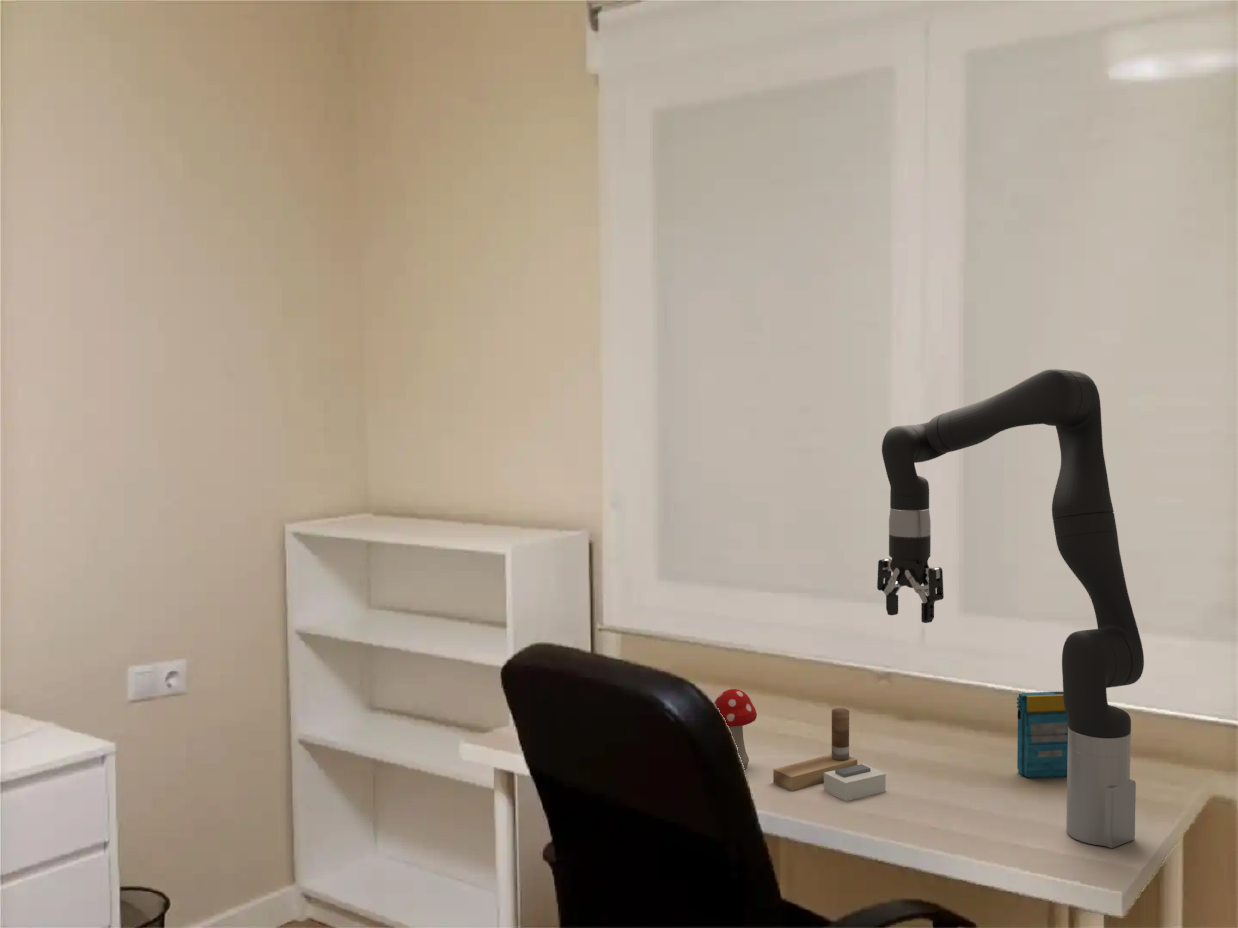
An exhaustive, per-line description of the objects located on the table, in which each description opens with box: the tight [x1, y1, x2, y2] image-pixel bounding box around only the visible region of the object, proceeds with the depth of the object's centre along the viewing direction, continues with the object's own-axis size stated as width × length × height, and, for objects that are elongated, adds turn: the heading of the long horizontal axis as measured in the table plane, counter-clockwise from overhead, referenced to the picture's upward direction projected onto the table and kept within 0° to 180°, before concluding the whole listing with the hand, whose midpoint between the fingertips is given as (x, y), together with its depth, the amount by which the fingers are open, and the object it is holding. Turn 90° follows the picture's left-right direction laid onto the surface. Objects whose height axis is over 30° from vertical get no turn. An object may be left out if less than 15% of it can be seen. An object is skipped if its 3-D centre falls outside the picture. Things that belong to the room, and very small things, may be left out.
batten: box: [772, 753, 858, 791], centre depth 210 cm, size 5×16×2 cm, turn 122°
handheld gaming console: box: [1016, 690, 1068, 779], centre depth 208 cm, size 10×4×15 cm, turn 94°
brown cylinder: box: [831, 707, 850, 761], centre depth 212 cm, size 3×3×9 cm
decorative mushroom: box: [713, 688, 758, 770], centre depth 215 cm, size 10×9×15 cm
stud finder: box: [823, 763, 887, 802], centre depth 203 cm, size 6×9×4 cm, turn 118°
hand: (909, 618), depth 213 cm, fingers open, 8 cm apart
